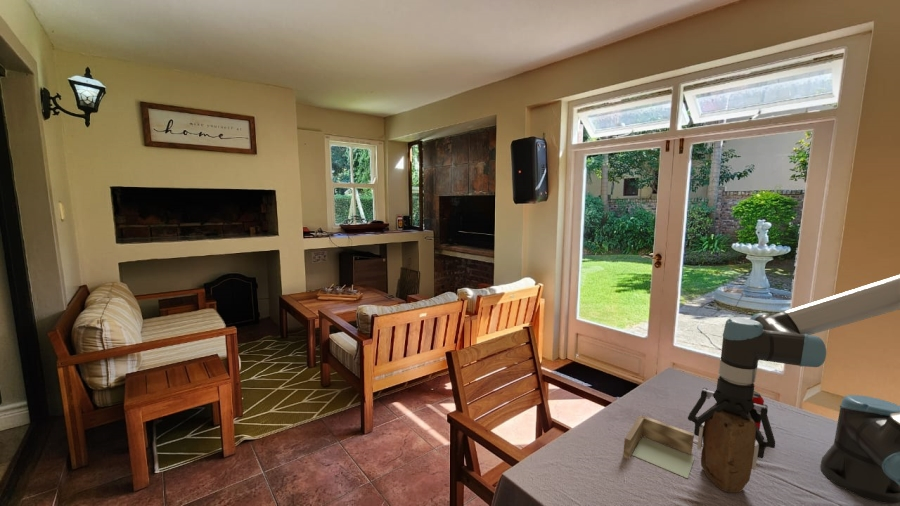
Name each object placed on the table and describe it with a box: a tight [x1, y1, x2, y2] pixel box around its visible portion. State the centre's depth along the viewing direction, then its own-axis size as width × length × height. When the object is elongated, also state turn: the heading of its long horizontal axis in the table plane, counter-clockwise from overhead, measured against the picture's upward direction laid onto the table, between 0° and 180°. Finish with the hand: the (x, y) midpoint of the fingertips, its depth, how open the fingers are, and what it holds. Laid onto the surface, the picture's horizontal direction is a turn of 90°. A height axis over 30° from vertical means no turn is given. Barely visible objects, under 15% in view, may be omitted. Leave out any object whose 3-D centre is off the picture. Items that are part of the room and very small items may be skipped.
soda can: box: [749, 390, 765, 431], centre depth 125 cm, size 8×8×12 cm
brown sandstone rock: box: [700, 410, 756, 493], centre depth 101 cm, size 11×8×20 cm
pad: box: [631, 436, 695, 479], centre depth 111 cm, size 14×11×1 cm
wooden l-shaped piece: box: [622, 415, 695, 460], centre depth 111 cm, size 15×16×6 cm
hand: (725, 456), depth 101 cm, fingers closed on brown sandstone rock, 11 cm apart
